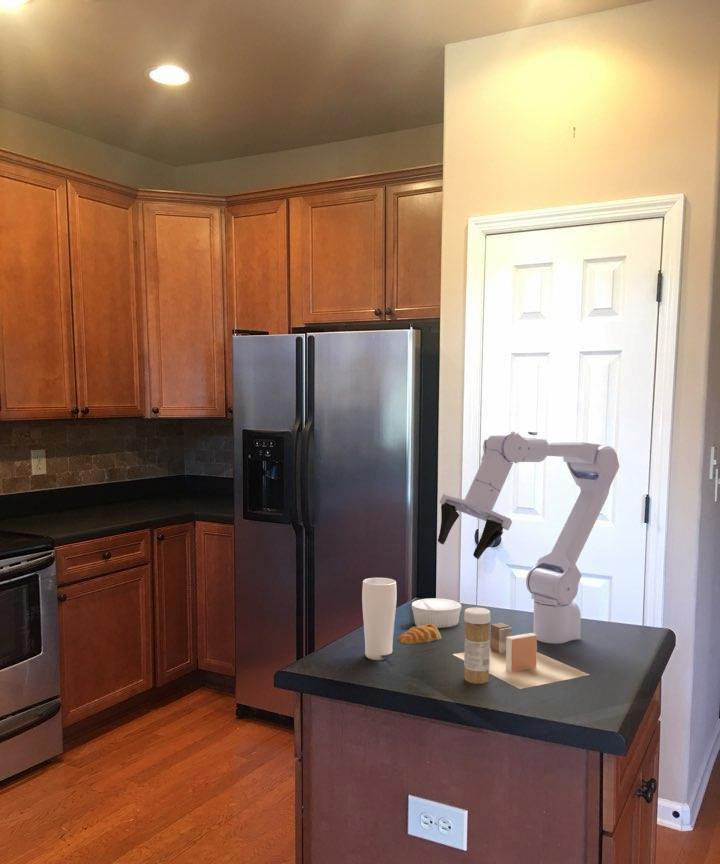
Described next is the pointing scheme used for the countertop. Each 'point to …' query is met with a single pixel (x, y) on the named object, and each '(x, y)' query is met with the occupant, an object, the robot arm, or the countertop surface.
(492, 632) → the tan wooden block
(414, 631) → the pastry
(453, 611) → the ramekin
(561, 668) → the board
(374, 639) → the drinking glass
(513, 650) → the tile
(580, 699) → the countertop surface
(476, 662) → the sprinkles bottle
